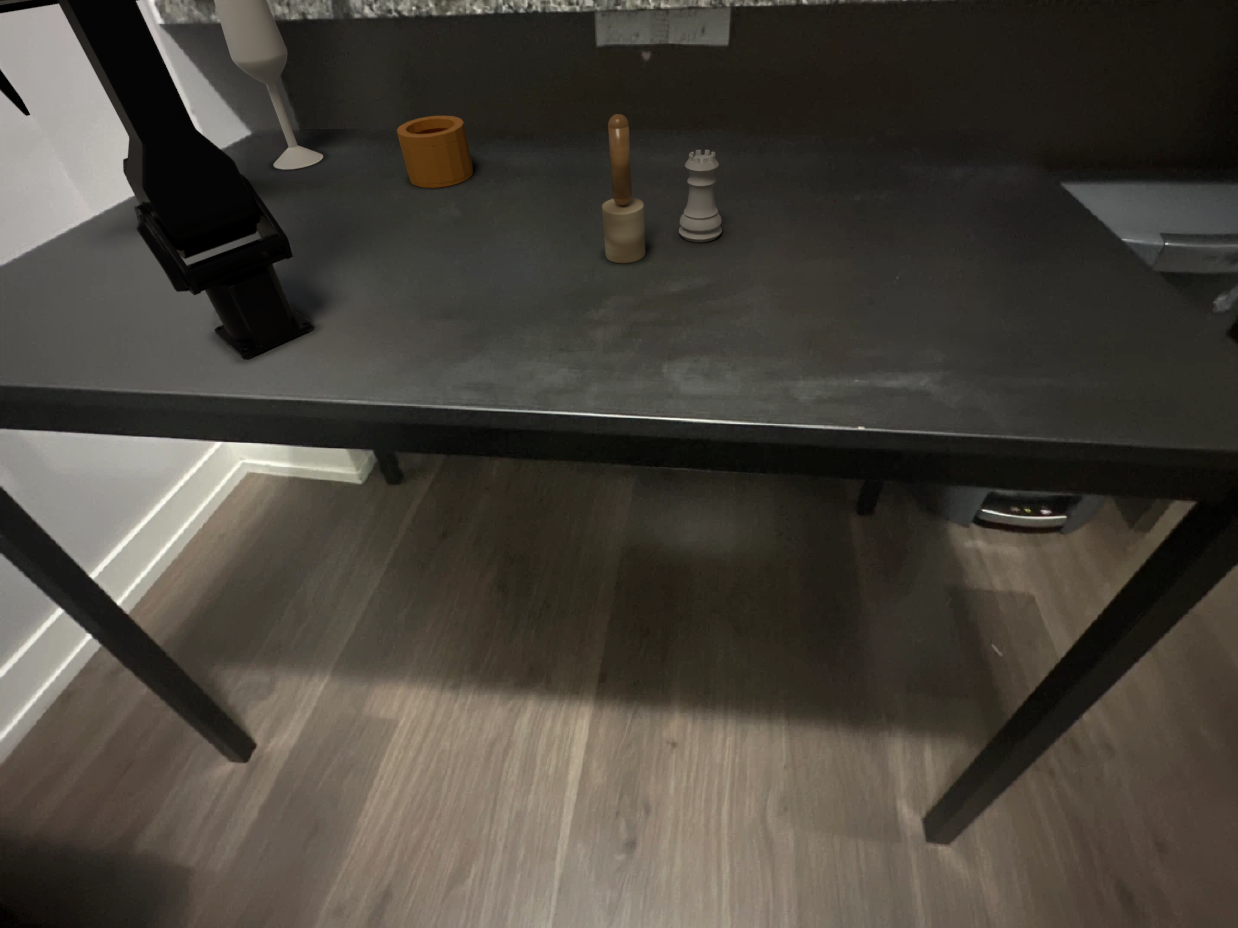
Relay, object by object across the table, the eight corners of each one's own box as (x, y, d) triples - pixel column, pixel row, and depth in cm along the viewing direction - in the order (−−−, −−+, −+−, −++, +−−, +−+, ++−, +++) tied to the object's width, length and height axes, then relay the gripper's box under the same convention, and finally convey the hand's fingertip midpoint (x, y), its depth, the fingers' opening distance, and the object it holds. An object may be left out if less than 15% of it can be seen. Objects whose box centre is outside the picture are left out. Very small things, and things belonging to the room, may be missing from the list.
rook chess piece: (730, 232, 71) (735, 151, 65) (704, 248, 68) (706, 165, 63) (696, 221, 73) (698, 142, 68) (669, 236, 71) (669, 156, 65)
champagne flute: (280, 154, 97) (200, -56, 81) (327, 149, 98) (257, -61, 81) (267, 171, 92) (179, -49, 76) (317, 166, 93) (240, -54, 76)
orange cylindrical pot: (485, 173, 87) (476, 122, 83) (433, 193, 83) (420, 141, 79) (449, 160, 91) (439, 111, 87) (398, 178, 88) (384, 128, 83)
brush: (653, 252, 68) (650, 112, 59) (625, 267, 66) (617, 124, 57) (625, 241, 70) (617, 104, 62) (597, 255, 68) (585, 116, 60)
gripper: (66, -115, 65) (152, 69, 76) (-185, -93, 56) (-47, 113, 67) (100, -116, 59) (188, 84, 70) (-175, -91, 50) (-25, 135, 61)
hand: (80, 102), depth 67 cm, fingers open, 9 cm apart
